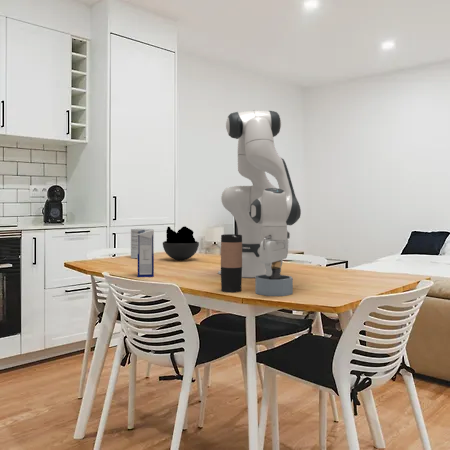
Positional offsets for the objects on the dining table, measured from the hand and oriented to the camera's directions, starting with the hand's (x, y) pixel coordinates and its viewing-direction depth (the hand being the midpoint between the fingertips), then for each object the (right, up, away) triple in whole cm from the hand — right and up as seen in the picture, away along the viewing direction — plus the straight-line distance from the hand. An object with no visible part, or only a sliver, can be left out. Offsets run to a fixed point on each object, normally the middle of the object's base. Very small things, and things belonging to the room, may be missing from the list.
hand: (273, 273), depth 173 cm
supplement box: (-65, -2, +110) cm, 128 cm away
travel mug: (-15, -7, +4) cm, 17 cm away
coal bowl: (-41, -3, +100) cm, 108 cm away
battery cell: (0, -6, +1) cm, 6 cm away
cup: (0, -7, 0) cm, 7 cm away
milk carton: (-51, -5, +40) cm, 65 cm away
